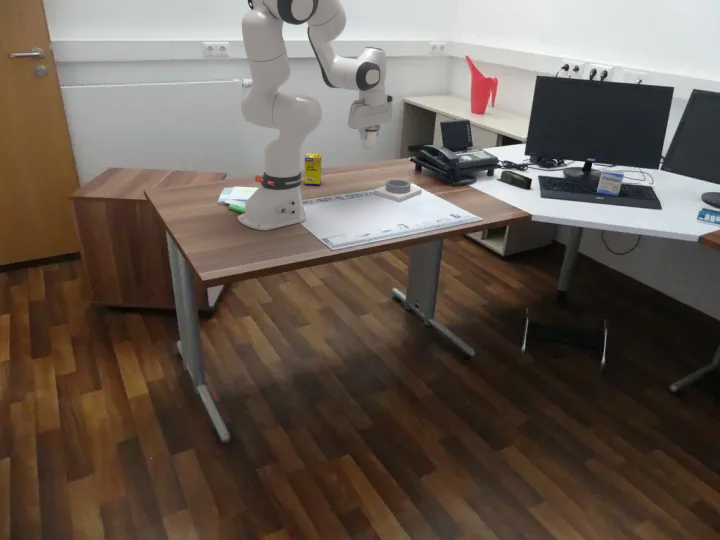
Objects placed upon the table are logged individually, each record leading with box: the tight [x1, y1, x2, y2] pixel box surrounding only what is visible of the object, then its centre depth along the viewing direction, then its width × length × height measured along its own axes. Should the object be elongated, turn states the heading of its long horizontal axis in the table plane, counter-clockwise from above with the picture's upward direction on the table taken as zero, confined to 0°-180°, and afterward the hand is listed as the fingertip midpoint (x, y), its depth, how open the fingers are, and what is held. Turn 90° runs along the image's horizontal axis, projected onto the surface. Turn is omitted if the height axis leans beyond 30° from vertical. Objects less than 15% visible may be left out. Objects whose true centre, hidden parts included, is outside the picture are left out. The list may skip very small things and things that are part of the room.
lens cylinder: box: [361, 126, 378, 150], centre depth 195 cm, size 5×5×7 cm
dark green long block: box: [496, 169, 533, 190], centre depth 222 cm, size 5×3×15 cm
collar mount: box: [372, 178, 423, 203], centre depth 206 cm, size 14×12×4 cm
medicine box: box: [596, 169, 625, 197], centre depth 216 cm, size 8×4×9 cm, turn 68°
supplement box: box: [304, 153, 322, 187], centre depth 210 cm, size 6×6×11 cm
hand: (369, 138), depth 195 cm, fingers closed on lens cylinder, 5 cm apart
